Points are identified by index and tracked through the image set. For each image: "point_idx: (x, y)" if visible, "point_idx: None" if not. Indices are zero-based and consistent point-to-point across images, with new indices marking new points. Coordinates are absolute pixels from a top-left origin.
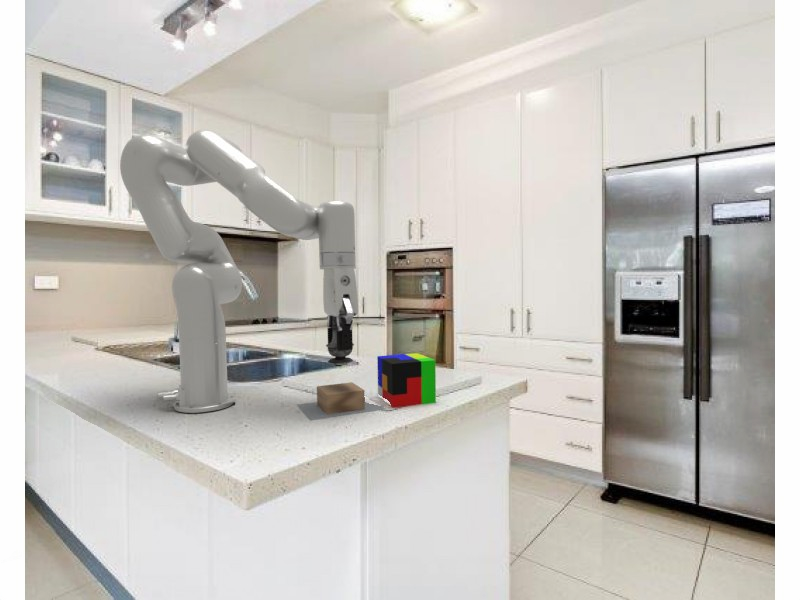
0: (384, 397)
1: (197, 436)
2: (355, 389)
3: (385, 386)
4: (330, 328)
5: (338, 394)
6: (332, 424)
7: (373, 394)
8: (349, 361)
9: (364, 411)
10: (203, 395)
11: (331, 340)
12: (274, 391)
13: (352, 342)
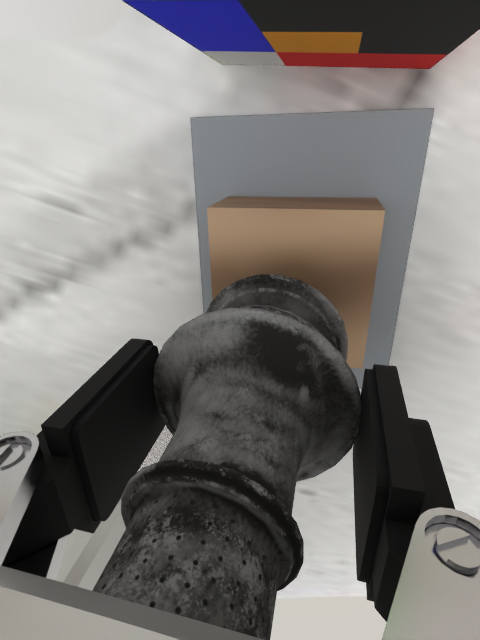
0: (311, 60)
1: (326, 563)
2: (345, 242)
3: (328, 48)
4: (91, 513)
5: (368, 325)
6: (435, 339)
7: (147, 59)
8: (335, 319)
9: (404, 209)
10: None
11: (149, 434)
12: (27, 364)
13: (402, 394)
